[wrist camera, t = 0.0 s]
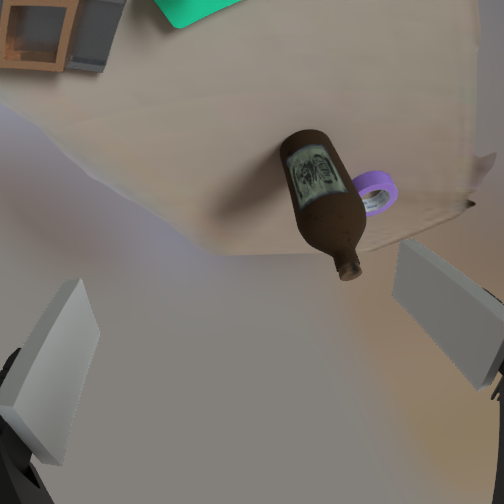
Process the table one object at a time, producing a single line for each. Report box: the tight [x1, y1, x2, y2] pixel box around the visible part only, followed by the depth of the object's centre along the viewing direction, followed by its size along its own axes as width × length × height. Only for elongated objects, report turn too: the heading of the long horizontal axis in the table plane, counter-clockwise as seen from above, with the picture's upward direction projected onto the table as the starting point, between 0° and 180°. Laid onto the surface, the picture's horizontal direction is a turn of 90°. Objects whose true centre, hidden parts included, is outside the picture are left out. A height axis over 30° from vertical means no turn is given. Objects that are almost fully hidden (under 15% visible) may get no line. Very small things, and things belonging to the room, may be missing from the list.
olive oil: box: [280, 130, 366, 281], centre depth 48 cm, size 11×11×25 cm
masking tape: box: [352, 171, 398, 217], centre depth 66 cm, size 12×12×4 cm
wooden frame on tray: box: [0, 0, 126, 73], centre depth 24 cm, size 20×11×4 cm, turn 62°
